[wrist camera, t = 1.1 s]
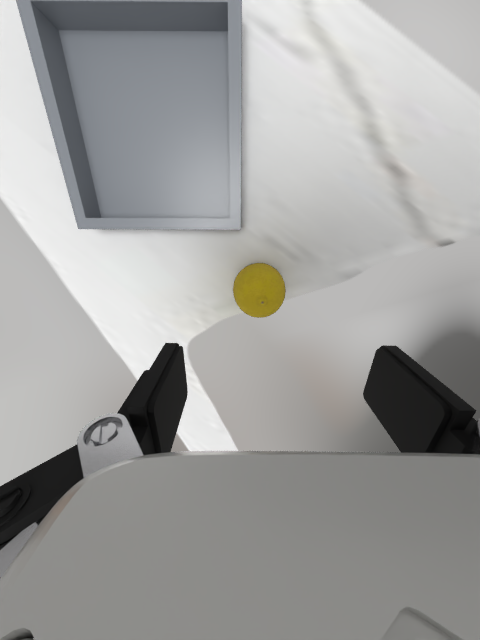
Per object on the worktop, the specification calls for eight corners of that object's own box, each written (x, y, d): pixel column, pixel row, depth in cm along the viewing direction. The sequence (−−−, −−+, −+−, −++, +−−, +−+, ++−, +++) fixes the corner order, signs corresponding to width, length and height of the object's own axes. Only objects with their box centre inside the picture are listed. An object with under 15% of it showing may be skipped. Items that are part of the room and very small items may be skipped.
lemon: (243, 307, 29) (244, 336, 22) (227, 267, 27) (223, 284, 20) (283, 293, 28) (299, 318, 21) (271, 250, 26) (283, 262, 19)
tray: (241, 21, 19) (241, -20, 15) (240, 228, 25) (240, 229, 22) (49, 20, 19) (10, -22, 15) (98, 227, 25) (78, 228, 22)
